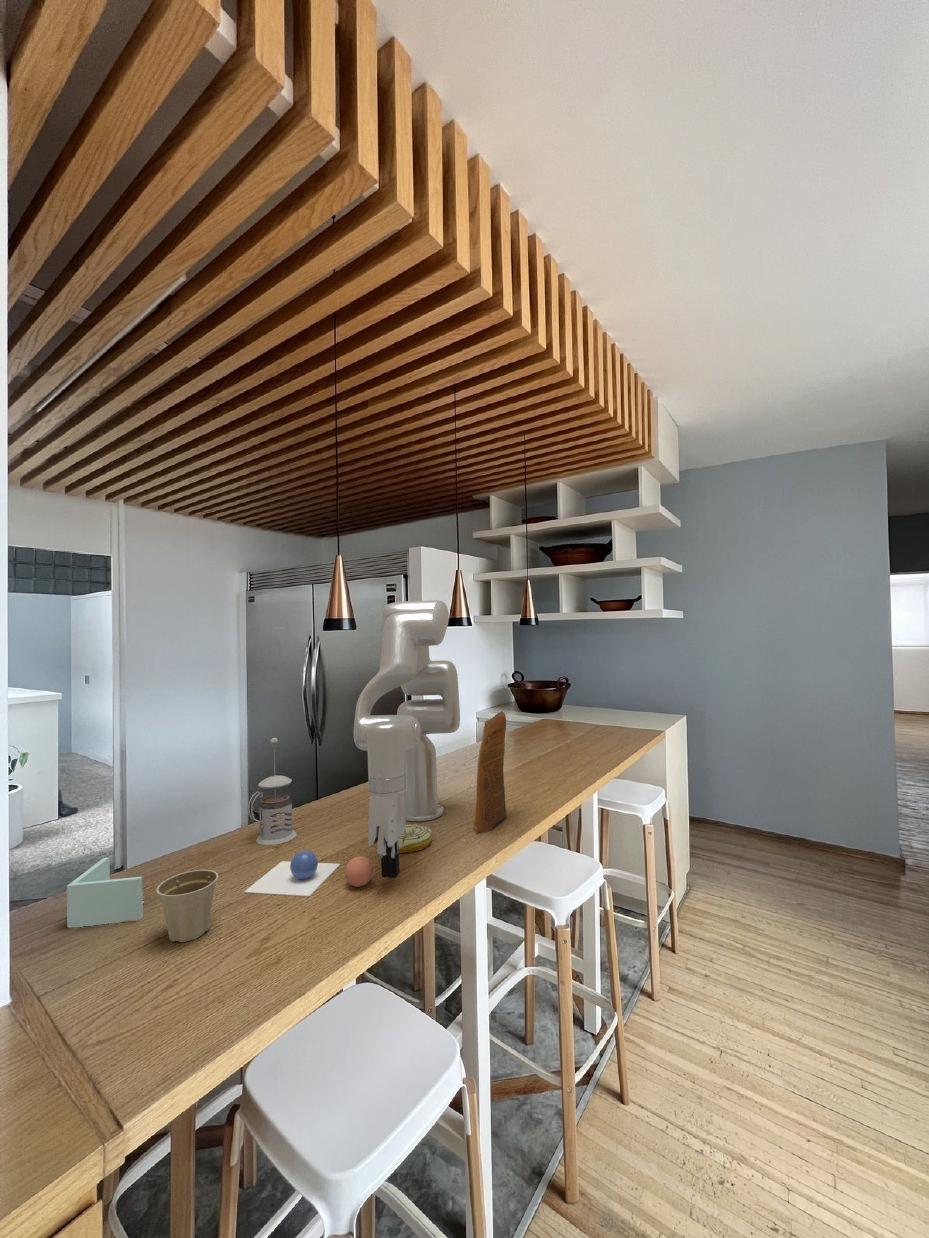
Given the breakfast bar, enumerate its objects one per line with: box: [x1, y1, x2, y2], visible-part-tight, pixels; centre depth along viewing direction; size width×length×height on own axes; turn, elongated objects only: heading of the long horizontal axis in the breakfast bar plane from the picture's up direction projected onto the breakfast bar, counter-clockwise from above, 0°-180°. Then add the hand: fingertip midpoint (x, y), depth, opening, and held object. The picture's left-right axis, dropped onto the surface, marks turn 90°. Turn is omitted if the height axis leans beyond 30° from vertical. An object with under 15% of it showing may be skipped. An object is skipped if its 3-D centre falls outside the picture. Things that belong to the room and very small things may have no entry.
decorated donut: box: [398, 823, 433, 854], centre depth 123 cm, size 10×11×4 cm
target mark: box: [243, 860, 341, 898], centre depth 108 cm, size 14×14×1 cm
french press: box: [247, 737, 298, 846], centre depth 131 cm, size 10×12×25 cm
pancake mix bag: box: [473, 710, 507, 834], centre depth 136 cm, size 7×19×28 cm, turn 153°
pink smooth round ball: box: [344, 855, 374, 888], centre depth 104 cm, size 6×6×6 cm
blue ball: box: [290, 850, 319, 880], centre depth 108 cm, size 6×6×6 cm
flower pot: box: [155, 869, 219, 943], centre depth 89 cm, size 9×9×9 cm
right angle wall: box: [66, 857, 145, 928], centre depth 99 cm, size 12×12×8 cm
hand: (390, 875), depth 104 cm, fingers closed
